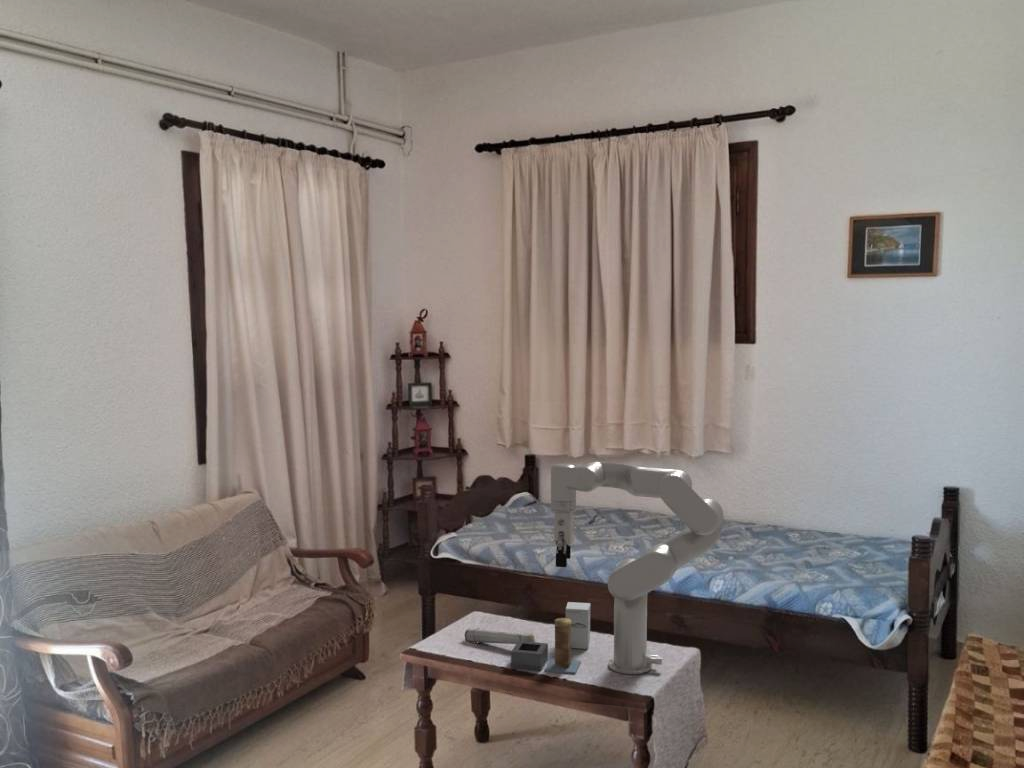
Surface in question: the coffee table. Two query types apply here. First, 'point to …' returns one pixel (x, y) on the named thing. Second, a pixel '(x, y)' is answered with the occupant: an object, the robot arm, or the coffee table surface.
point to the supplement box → (579, 624)
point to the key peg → (562, 642)
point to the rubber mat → (570, 670)
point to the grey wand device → (496, 636)
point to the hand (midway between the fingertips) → (563, 562)
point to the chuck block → (529, 655)
